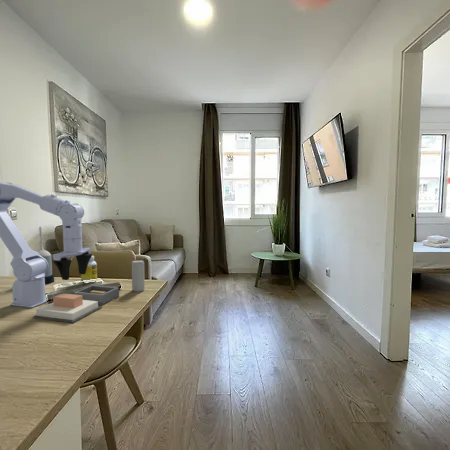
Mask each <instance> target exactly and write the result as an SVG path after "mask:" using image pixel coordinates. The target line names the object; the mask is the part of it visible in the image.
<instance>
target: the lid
mask: <svg viewBox="0 0 450 450" xmlns="http://www.w3.org/2000/svg"><path fill="white" fill-rule="evenodd" d="M52 301H53V302H51V303H48V304H45V305H43V306H41V307H39V308H36V309H35V313H36V314H35V315H36V316H44V317H51V318H59V319H67V320H75V319H76V318H78V317H80V316H82V315H84V314H86V313H88V312H90V311H92V310H94V309H96V308H97V307H98V306H99V305H98V301H89V300H83V297H82V295H74V293H59V294H57V295H54V296H53V297H52Z"/></svg>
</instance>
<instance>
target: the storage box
mask: <svg viewBox="0 0 450 450" xmlns="http://www.w3.org/2000/svg"><path fill="white" fill-rule="evenodd" d="M73 294H74V295H82V297H83V300H89V301H98V306H103V305H105V304H108V303H109V302H111V301H113V300H115V299H118V298H119V297H120V287H118V286H117V287H116V286H105V285H95V284H92V285H91V284H90V285H89V286H87V287H84V288H82V289H78V290H76V291H74V292H73Z"/></svg>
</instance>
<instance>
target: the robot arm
mask: <svg viewBox="0 0 450 450" xmlns="http://www.w3.org/2000/svg"><path fill="white" fill-rule="evenodd" d="M16 199H21V200H24V201H27V202H30V203H32V204H36V205H38V206H39V208H40V210H42V211H43V212H44V211H45V212H47V213H49V214H51V215H52V214H53V215H55V216H58V217H59V218H60V219H61V223H62V237H63V238H62V239H63V243H62V244H63V251H59V252H58V253H54V254H53V255H52V258H53V260H52V261H53V263H54V265H55V266H56V267H57V269H58V271H59V274H60V277H61V279H62V280H63V281H69V280H70V270H71V269H70V267H71V263H72V261H73V260H72V259H70V258H72V257H73V258H74V257H75V259H76V261H77V265H78V266H77V267H78V272H79V273H78V274H79V275H81V274H85V273H86V269H87V266H88V263H89V260H90V259H91V257H92V256H93V254H91V253H92V249H91V247H83V231H82V230H83V228H82V227H83V225H82V218H83V217H84V215H85V210H84V208H83V207H82V205H80V204H79V203H70V202H71V201H70V200H67V199H66V200H64V199H61V198H58V195H56V194H52V193H51V194H45V195H42V194H39V193H37V192H35V191H32V190H30V189H27V188H26V187H23V186H21V185H18V184H15V183H12V182H0V239H1V241H2V242H3V244H4V245H5V246H6V248H7V250H8V251H9V252H10V255H12V259H11V261H10V266H11V268H12V272H13V275H14V277H15V281H14V282H13V283H12V292H11V293H12V303H10V306H13V307H22V308H23V307H24V308H35V307H37V306H40V305H42V304H45V303H47V301H46V298H47V297H46V285H45V272H46V271H47V270H48V267H49V265H48V262H47V260H46V259H44V258H43V257H41V256H40V254H39V253H38V252H37V251H36V250H33V249H32V248H31V246H30V245H29V244H28V242H27V241H26V239H25V238H24V236H23V235H22V233H21V232H20V230H19V229H18V227H17V226H16V224H15V222H13V220H12V218H11V217H10V215H9V214H8V208H9V207H10V206H12V204H13V203H14V201H15V200H16ZM68 258H69V259H68Z"/></svg>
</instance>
